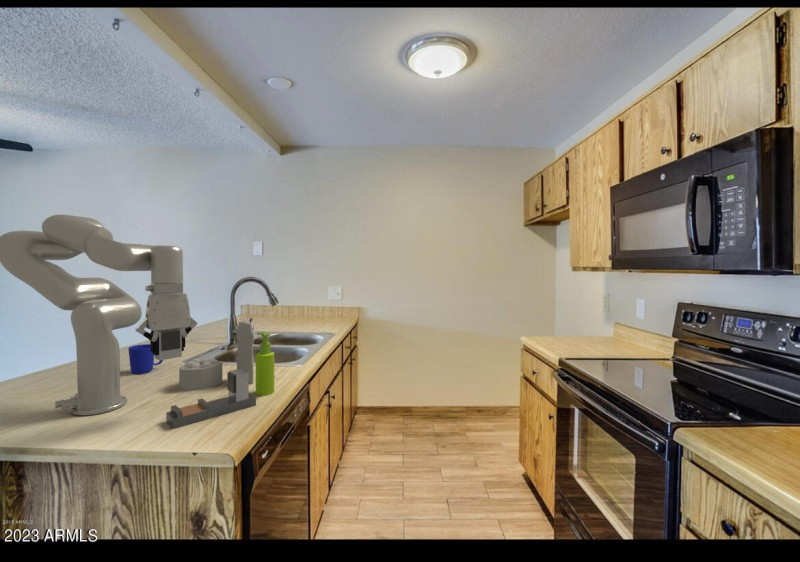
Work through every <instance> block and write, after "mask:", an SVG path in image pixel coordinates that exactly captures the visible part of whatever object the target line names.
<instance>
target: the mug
mask: <svg viewBox="0 0 800 562" xmlns="http://www.w3.org/2000/svg"><path fill="white" fill-rule="evenodd" d="M127 349H128V356H129V359H128V360H129V367H130V373H132V374H134V375H140V374H141V375H142V374H147V373H150V372H152V371H153V368H154V366H159V365H161V364H162V363H163V362H164V360H160V361H159V360H158V362H156V363H155V361H154V360H155V355H154V354H153V353H151V351H150V343H145V344H137V345H132V346H129V347H128V348H127Z"/></svg>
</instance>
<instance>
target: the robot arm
mask: <svg viewBox="0 0 800 562" xmlns="http://www.w3.org/2000/svg"><path fill="white" fill-rule="evenodd" d="M41 230H42V231H35V230H15V231H10V232H6V233H3V234H1V235H0V264H1V266H3V268H5V270H6V271H7V272H9V273H10V274H11V275H12V276H14V277H15V278H17V279H18V280H20V281H22V282H23V283H24V284H27V285H28V286H29V287H31V288H32V289H33V290H35V292H37V293H38V294H40V296H42V297H43V298H45V299H46V300H48V301H49V302H50V303H51V304H53V306H55V307H57V308H59V309H60V310H64V311H71V314H70V322H71V327H72V330H73V332H74V338H75V349H76V380H77V381H76V382H77V388H76V389H77V392H76V393H74V396H71V397H70V398H67V399H60V400H55V402H54V407H55V408H54V409H58V408H59V409H60V408H61V409H67V408H70V411H69V412H70V413H71V414H72V415H75V416H92V415H98V414H103V413H107V412H108V413H109V412H111V411H115V410H116V409H119V408H122V407H123V406H125V405H126V404H127V401H128V398H127V397H126V395H125V396H124V395H121V361H120V359H121V356H120V344H119V340H118V338H117V337H116V336H115V335H114V334H115V333H114V332H113V331H114V330H115V331H116V330H120V329H124V328H128V327H129V328H130V327H131V326H134V325H136V324H137V323H138V322H139V321H140V320H141V319H142V315H143V312H142V307H141V305H140V304H139V303H138V301H137V300H136V299H135V298H133V297H132V296H131V295H130V294H128V293H127V292H126V291H124V290H123V289H122V288H121V287H120V286H118V285H116V283H114V282H112V281H111V280H109V279H106V278H102V277H79V276H74V275H72V274H71V273H69V272H67V271H66V270H65V269H64V268H62V267H61V266H59V265H57V264H55V263H54V262H53V263H52V262H50V261H65V260H70V259H73V258H76V257H78V256H79V255H80V254H81V255H82V254H83V253H85V255H86V256H87V258H88V259H89V260H91V261H92V263H95V264H97V265H100V266H102V267H105V268H109V269H111V270H114V271H119V272H150V278H151V279H150V281H151V282H150V285H145V287H144V289H145V291H146V292H150V293H151V294H148V297H147V301H146V305H145V318H144V319H143V321H142V322H140V324H139V325H138V326H137V327H136V328H135V331H136V332H137V333H139V334H140V335H142V337H143V336H144V337H145V338H146V339H148V340H149V342H150V343H149V344H150V351H151V353H153V354H154V356H155V355H156V356H157V355H159V341H157V338H158V332H160V331H165V330H174V329H182V352H185V348H186V337H188V335H189V333H191V332H192V330H193V329H194V328H195V327H196V326H197V325H198V322H197V321H196V320H195V319H194V318H193V317H191V311H190V304H189V298H188V295H187V294H188V293H185V292H184V259H183V258H184V257H183V256H184V253H183V249H182V248H181V247H180V246H177V245H162V244H161V245H151V244H150V245H149V244H140V243H123V242H121V241H116V240H114V237H113V234H112V232H111V231H110V230H108V229H107V228H106V227H104V225H103V224H102V223H101V222H100V221H98V220H97V219H94V218H91V217H84V216H77V215H69V214H54V215H51V216H48V217H46V218H45V219H44V220H43V222H42V224H41ZM146 329H148V330H150V332H148V331H147V330H146Z"/></svg>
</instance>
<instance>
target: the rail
mask: <svg viewBox="0 0 800 562" xmlns="http://www.w3.org/2000/svg"><path fill="white" fill-rule="evenodd" d="M226 374H227V378H226V379H227V380H226V383H227V385H226V390H227V391H228V396H226V397H221V398H218V399H214V400H209V401H206V400H205V399H203V398H198V399H197V403H195V404H190V405H187V406H186V405H185V406H183V407H182V406H181V407H178V406H177V405H176V404H175V405H171V406H170V411H167V412H166V413H165V416H166V417H165V419H166V420H165V421H166V423H167V424H168V425H169V427H170V428H172V430H174V429H177V428H180V427H184V426H188V425H192V424H195V423H198V422H202V421H206V420H209V419H213V418H216V417H219V416H220V417H221V416H223V415H226V414H230V413H233V412H237V411H240V410H243V409H247V408H250V407H255V406H257V397H256V396H255V395H253V394H251V393H249V385H250V384H249V373H248V372H246V371H244V370H242V369H237V368H236V369H231V370H229V371H228V372H227V373H226Z"/></svg>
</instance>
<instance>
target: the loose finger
mask: <svg viewBox="0 0 800 562" xmlns="http://www.w3.org/2000/svg"><path fill="white" fill-rule="evenodd" d="M157 341H159V355H157V356H156V355H154V360H157V361H158V362H159V361H160V360H163V361H165V360H171V359H175V358H182V357H183V351H182V329H174V330H165V331H160V332H158V338H157Z"/></svg>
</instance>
